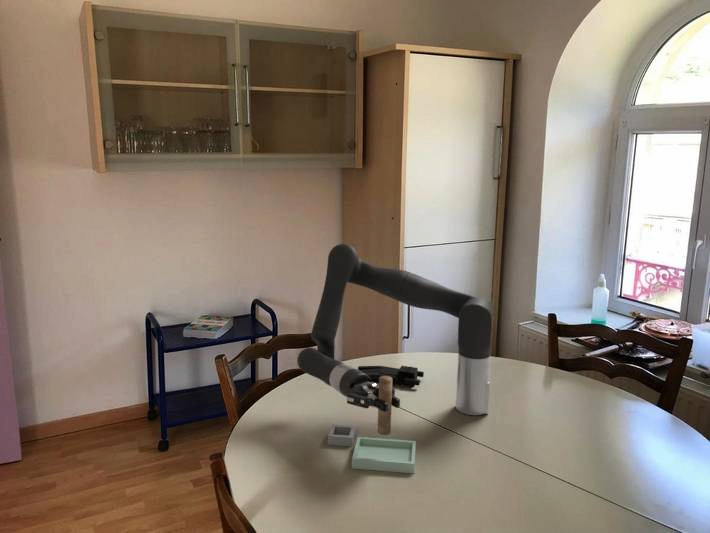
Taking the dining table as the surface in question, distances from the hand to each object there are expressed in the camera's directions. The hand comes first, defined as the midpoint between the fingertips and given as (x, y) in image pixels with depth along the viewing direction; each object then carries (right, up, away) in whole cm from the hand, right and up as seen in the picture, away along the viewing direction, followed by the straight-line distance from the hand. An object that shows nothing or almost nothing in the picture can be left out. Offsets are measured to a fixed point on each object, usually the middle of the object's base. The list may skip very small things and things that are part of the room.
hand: (392, 405), depth 143 cm
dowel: (-2, -7, +4) cm, 8 cm away
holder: (-13, -12, +15) cm, 23 cm away
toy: (-2, -5, +55) cm, 55 cm away
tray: (-2, -14, +5) cm, 16 cm away
